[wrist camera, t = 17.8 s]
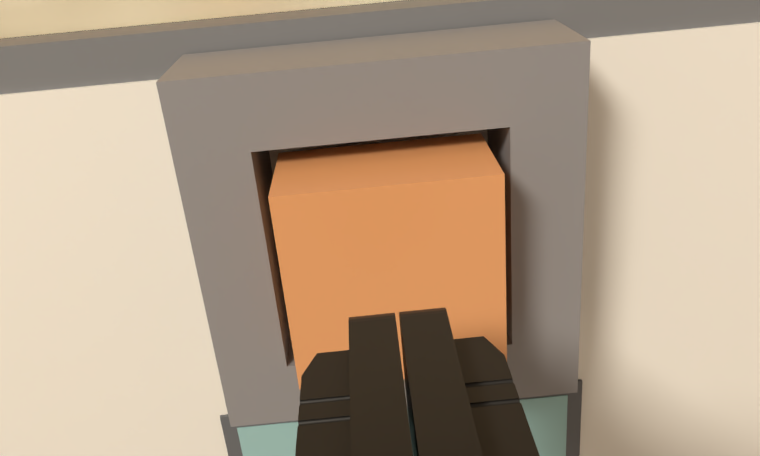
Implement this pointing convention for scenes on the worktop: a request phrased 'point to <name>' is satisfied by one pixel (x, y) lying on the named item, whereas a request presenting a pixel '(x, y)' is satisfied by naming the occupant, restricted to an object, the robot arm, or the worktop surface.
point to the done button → (390, 238)
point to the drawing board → (370, 126)
